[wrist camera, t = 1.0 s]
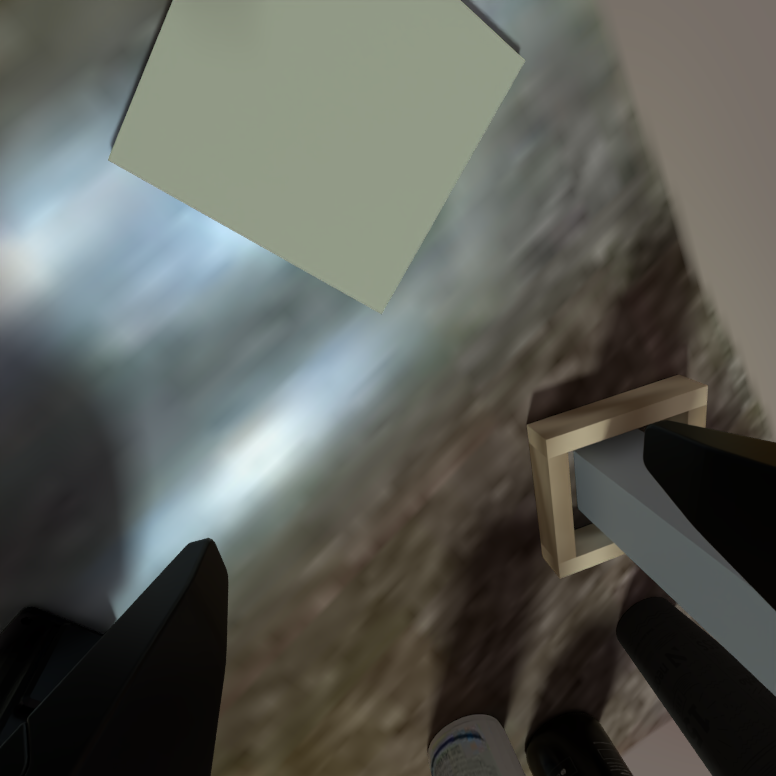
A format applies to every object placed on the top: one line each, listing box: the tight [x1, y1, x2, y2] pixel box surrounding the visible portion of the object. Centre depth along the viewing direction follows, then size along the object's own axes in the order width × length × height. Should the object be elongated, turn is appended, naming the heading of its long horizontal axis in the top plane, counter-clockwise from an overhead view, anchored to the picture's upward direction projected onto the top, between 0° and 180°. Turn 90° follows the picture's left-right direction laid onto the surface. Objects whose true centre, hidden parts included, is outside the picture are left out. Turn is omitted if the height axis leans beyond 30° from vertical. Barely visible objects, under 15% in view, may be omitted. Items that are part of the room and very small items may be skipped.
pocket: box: [527, 375, 708, 578], centre depth 27 cm, size 10×10×2 cm
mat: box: [108, 0, 525, 314], centre depth 18 cm, size 12×12×1 cm
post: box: [574, 429, 776, 696], centre depth 22 cm, size 4×4×13 cm
